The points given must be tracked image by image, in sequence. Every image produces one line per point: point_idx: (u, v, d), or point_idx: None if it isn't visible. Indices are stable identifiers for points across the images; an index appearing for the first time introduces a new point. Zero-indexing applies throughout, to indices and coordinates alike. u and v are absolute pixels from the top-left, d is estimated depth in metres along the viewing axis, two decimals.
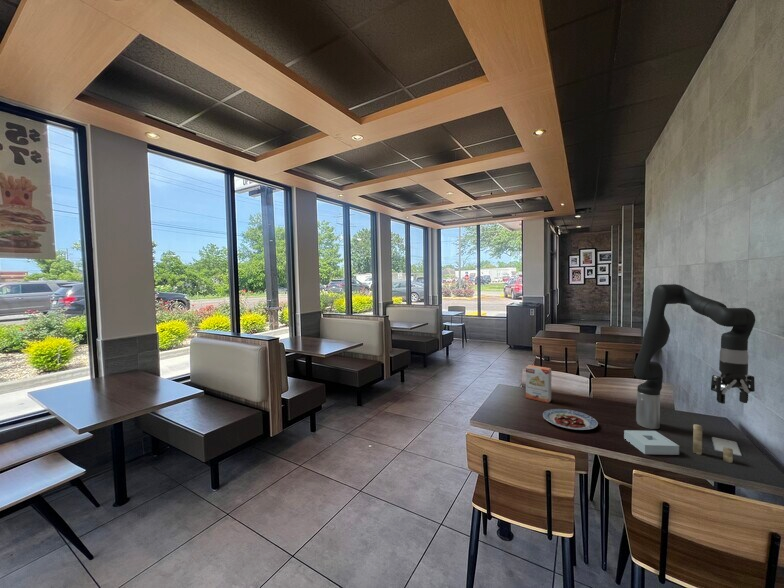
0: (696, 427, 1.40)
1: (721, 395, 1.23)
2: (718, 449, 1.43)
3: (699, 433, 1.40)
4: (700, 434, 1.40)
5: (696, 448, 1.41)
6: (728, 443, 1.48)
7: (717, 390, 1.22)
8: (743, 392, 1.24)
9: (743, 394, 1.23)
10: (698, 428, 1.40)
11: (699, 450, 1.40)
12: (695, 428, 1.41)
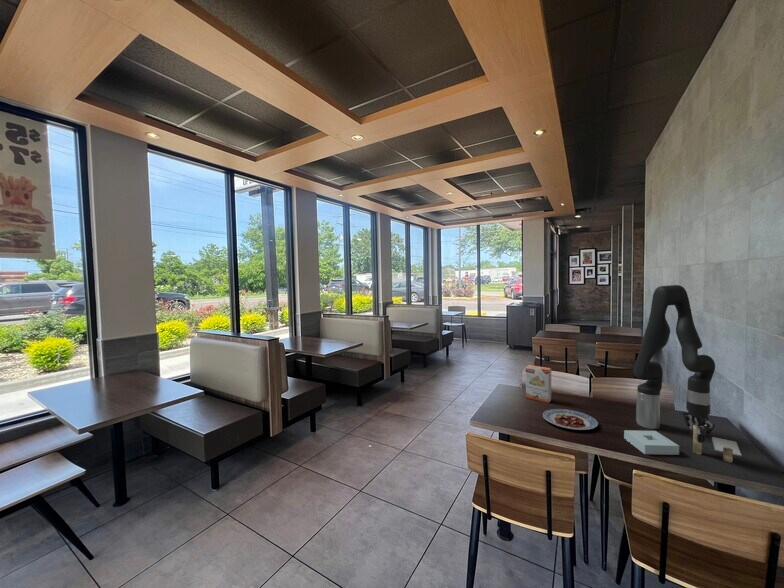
0: None
1: None
2: (718, 449, 1.43)
3: None
4: None
5: (696, 448, 1.41)
6: (728, 443, 1.48)
7: (709, 433, 1.37)
8: None
9: None
10: None
11: (699, 450, 1.40)
12: (695, 428, 1.41)
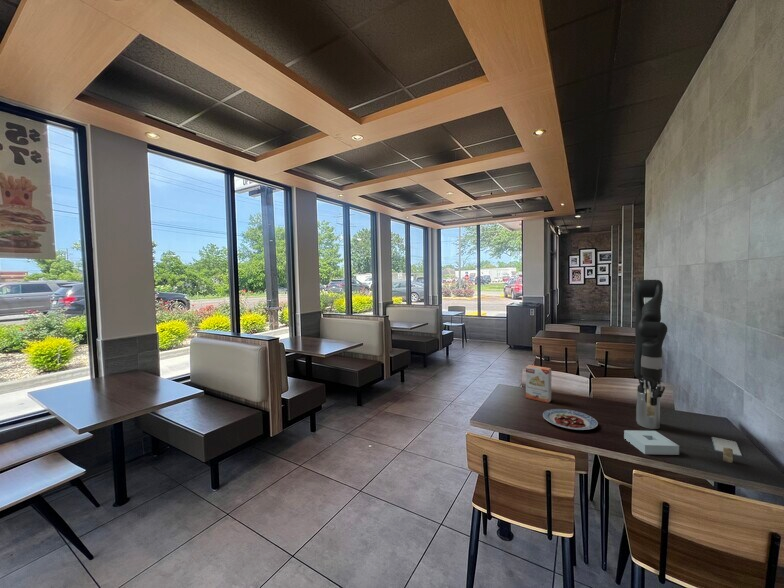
0: (649, 391, 1.46)
1: None
2: (718, 449, 1.43)
3: None
4: None
5: (649, 411, 1.46)
6: (728, 443, 1.48)
7: (660, 396, 1.42)
8: None
9: None
10: None
11: (652, 413, 1.46)
12: (648, 392, 1.46)
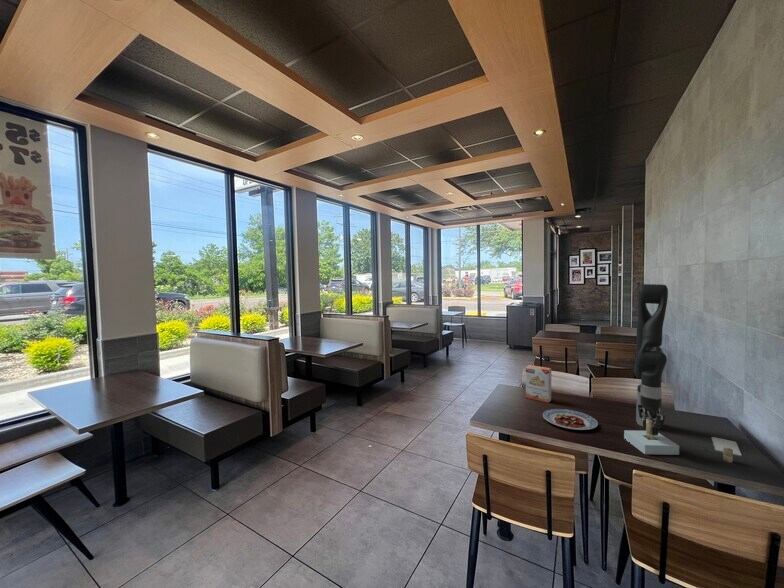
0: (648, 421, 1.47)
1: None
2: (718, 449, 1.43)
3: (651, 427, 1.46)
4: None
5: None
6: (728, 443, 1.48)
7: (662, 426, 1.42)
8: None
9: None
10: (650, 422, 1.46)
11: None
12: (647, 422, 1.47)
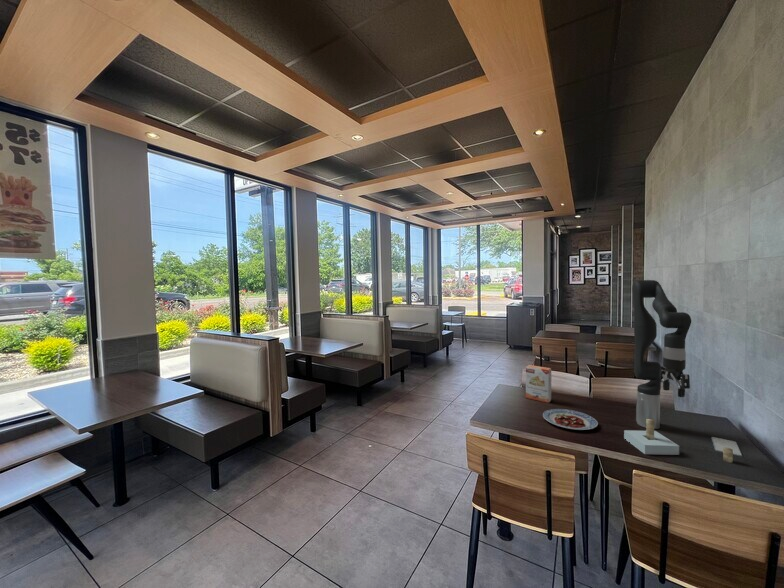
0: (648, 421, 1.47)
1: None
2: (718, 449, 1.43)
3: (651, 427, 1.46)
4: (652, 428, 1.46)
5: None
6: (728, 443, 1.48)
7: (689, 386, 1.37)
8: (667, 381, 1.48)
9: (667, 383, 1.48)
10: (650, 422, 1.46)
11: None
12: (647, 422, 1.47)
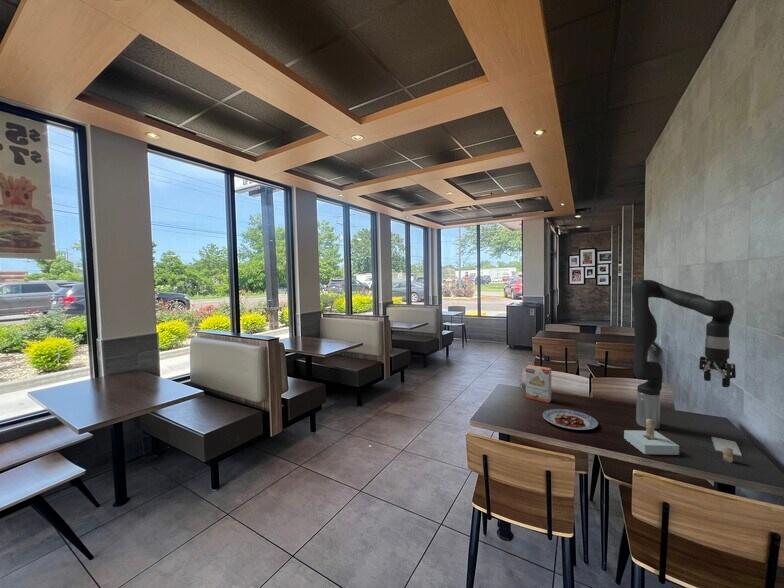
0: (648, 421, 1.47)
1: None
2: (718, 449, 1.43)
3: (651, 427, 1.46)
4: (652, 428, 1.46)
5: None
6: (728, 443, 1.48)
7: None
8: (708, 372, 1.45)
9: (709, 373, 1.45)
10: (650, 422, 1.46)
11: None
12: (648, 422, 1.47)
